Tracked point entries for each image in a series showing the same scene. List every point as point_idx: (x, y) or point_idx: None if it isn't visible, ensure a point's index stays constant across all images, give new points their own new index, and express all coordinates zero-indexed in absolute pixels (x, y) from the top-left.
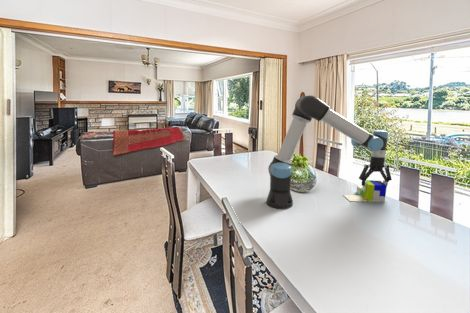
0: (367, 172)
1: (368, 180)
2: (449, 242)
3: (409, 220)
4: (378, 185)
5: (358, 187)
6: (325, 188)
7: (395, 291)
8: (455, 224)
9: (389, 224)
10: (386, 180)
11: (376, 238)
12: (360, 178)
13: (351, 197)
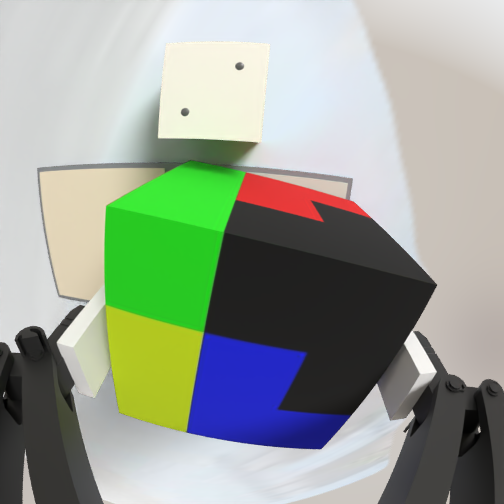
0: (40, 494)
1: (203, 248)
2: (265, 500)
3: (258, 461)
4: (232, 440)
5: (164, 87)
6: (5, 29)
7: (111, 499)
8: (382, 462)
9: (168, 463)
10: (410, 428)
11: (112, 472)
12: (5, 387)
13: (77, 228)
